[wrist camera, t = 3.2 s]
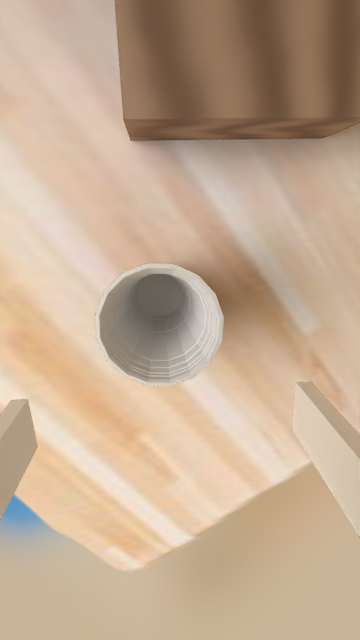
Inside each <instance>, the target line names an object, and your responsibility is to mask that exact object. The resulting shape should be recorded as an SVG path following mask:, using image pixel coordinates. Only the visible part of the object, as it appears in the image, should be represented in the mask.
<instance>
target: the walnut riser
mask: <svg viewBox="0 0 360 640" xmlns="http://www.w3.org/2000/svg"><path fill="white" fill-rule="evenodd" d="M115 10H116V24H117V37H118V51H119V65H120V78H121V92H122V106H123V119H124V122H125V125H126V128H127V131H128V134H129V137H130V140H131V141H134V140H213V139H291V138H324V137H326V136H329V135H331V134H333V133H336V132H338V131H340V130H343V129H345V128H347V127H350V126H352V125H354V124H357V123H359V122H360V0H115Z"/></svg>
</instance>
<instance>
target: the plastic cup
mask: <svg viewBox="0 0 360 640" xmlns="http://www.w3.org/2000/svg"><path fill="white" fill-rule="evenodd" d="M223 322H224V316H223V313H222V311H221V308H220V305H219V302H218V299H217V296H216V294H215V293H214V292H213V291H212V289H211V288H210V287H209V286H208V285H207V284H206V283H205V282H204V281H203V280H202V279H201V277H200V276H199V275H197V274H195V273H193V272H190V271H188V270H186V269H184V268H182V267H179V266H177V265H175V264H154V263H147V264H144V265H142V266H139V267H137V268H134V269H131V270H129V271H126V272H124V273H122V274H121V275H120V276H119V277H118V278H117V279H116V280H115V281H114V282H113V283H112V284H111V285H110V286H109V287H108V288H107V289H106V290H105V291H104V293H103V296H102V298H101V301H100V303H99V306H98V308H97V311H96V313H95V327H96V340H97V342H98V344H99V346H100V348H101V350H102V353H103V355H104V357H105V359H106V361H107V362H108V363H109V364H111V365H112V366H113V367H114V368H115V369H116V370H117V371H118V372H119V373H120V374H121V375H123V376H124V377H125V378H128V379H131V380H133V381H136V382H138V383H141V384H143V385H146V386H173V385H175V384H178V383H181V382H184V381H187V380H189V379H192V378H194V377H195V376H196V375H197V374H199V373H200V372H201V371H202V370H203V369H204V368H206V367H207V366H208V365H209V364H210V363H211V362H212V360H213V358H214V356H215V354H216V352H217V350H218V348H219V346H220V345H221V343H222V336H223Z"/></svg>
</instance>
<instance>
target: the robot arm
mask: <svg viewBox="0 0 360 640" xmlns="http://www.w3.org/2000/svg"><path fill="white" fill-rule="evenodd" d="M291 429H292V430H293V432H294V433H295V435H296V436H297V438H298V440H299V441H300V443H301V444H302V446H303V448H304V449H305V451H306V452H307V454H308V456H309V457H310V459H311V460H312V462H313V464H314V465H315V467H316V468H317V470H318V472H319V473H320V475H321V476H322V478H323V479H324V481H325V482H326V484H327V486H328V487H329V489H330V491H331V492H332V494H333V495H334V497H335V499H336V500H337V502H338V503H339V505H340V506H341V508H342V510H343V511H344V513H345V514H346V516H347V518H348V519H349V521H350V522H351V524H352V526H353V527H354V529H355V530H356V532H357V534H358V535H359V537H360V434H359V433H358V432H357V431H356V430H355V429H354V428H353V427H352V426H351V425H350V423H349V422H348V421H347V420H346V419H345V418H344V417H343V416H342V415H341V414H340V413H339V411H338V410H337V409H336V408H335V407H334V406H333V405H332V404H331V403H330V402H329V401H328V399H327V398H326V397H325V396H324V395H323V394H322V393H321V392H320V391H319V390H318V389H317V388H316V386H315V385H314V384H313V383H312V382H297V383H296V390H295V400H294V409H293V419H292V428H291ZM37 447H38V445H37V440H36V436H35V431H34V426H33V421H32V417H31V412H30V407H29V402H28V399H20V400H11V401H10V402H9V404H8V405H7V406H6V408H5V409H4V410H3V411H2V413H1V414H0V520H1V518H2V516H3V514H4V512H5V510H6V508H7V506H8V504H9V502H10V500H11V498H12V496H13V494H14V492H15V490H16V488H17V486H18V484H19V482H20V480H21V478H22V476H23V474H24V473H25V471H26V469H27V467H28V465H29V463H30V461H31V459H32V457H33V455H34V453H35V451H36V449H37Z"/></svg>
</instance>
